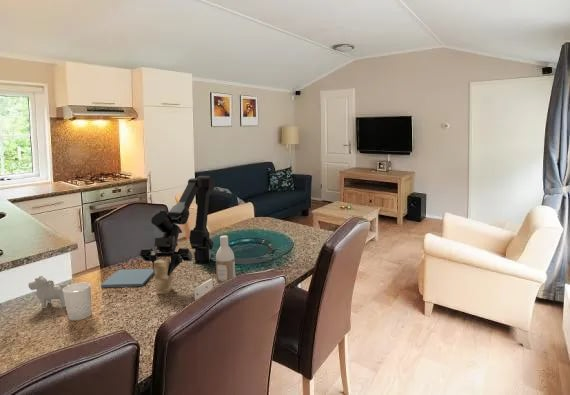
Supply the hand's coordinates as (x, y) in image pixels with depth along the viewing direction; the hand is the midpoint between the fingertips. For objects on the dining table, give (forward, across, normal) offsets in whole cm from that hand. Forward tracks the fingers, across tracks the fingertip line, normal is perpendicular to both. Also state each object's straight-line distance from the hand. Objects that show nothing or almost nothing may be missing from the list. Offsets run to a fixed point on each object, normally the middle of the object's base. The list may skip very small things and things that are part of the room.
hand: (161, 275), depth 138 cm
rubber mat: (-5, -19, +14) cm, 24 cm away
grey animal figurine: (+13, -35, -3) cm, 38 cm away
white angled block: (+12, +19, -2) cm, 23 cm away
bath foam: (+1, +23, +8) cm, 24 cm away
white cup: (+18, -21, -8) cm, 28 cm away
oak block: (+4, 0, +6) cm, 7 cm away
